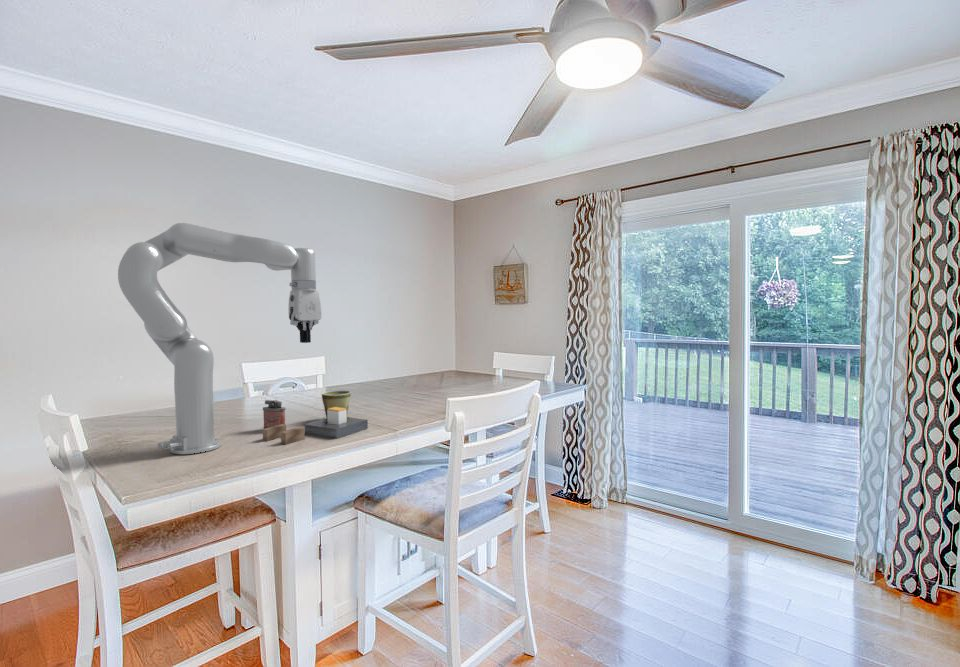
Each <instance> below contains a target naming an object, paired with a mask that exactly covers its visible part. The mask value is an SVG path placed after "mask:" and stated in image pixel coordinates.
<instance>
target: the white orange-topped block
mask: <svg viewBox="0 0 960 667" xmlns="http://www.w3.org/2000/svg"><path fill="white" fill-rule="evenodd" d="M347 417H348V415H347V416H346V408H340V407H333V408H329V409H327V421H328V424H335V425H339V424H342V423H346V422H347Z"/></svg>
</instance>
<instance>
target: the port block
mask: <svg viewBox="0 0 960 667" xmlns="http://www.w3.org/2000/svg"><path fill="white" fill-rule="evenodd" d="M368 421H369V420H368V419H363V418H357V417H349V416H347V422H346V423H342V424H339V425H335V424H328V421H327V418H324V419H323V418H322V419H320V420H319V419H318V420H315V421H312V422H309V423H308V422H307V423H304V427H303V428H304V431H305V434H306V435H310V436H317V437H324V438H330V439H335V438H336V440H337V439H340V437H341V438H343V436H344V437H346V436H350V435H353V434H355V433H359V432H361V431H364V430H368V428H369V426H368Z"/></svg>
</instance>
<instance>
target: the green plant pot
mask: <svg viewBox="0 0 960 667" xmlns="http://www.w3.org/2000/svg"><path fill="white" fill-rule="evenodd" d="M351 393H352V392H351V391H350V390H344V389H343V390H340V389H339V390H329V391H325V392H322V393H321V398H322V403H323V408H324V412H325V417H326V418H327V409H329V408H333V407H340V408H346V416H347V417H348V414H349V407H350V400H351V395H352V394H351ZM326 418H325V419H326Z"/></svg>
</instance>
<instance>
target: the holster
mask: <svg viewBox="0 0 960 667" xmlns="http://www.w3.org/2000/svg"><path fill="white" fill-rule="evenodd" d="M276 438H277V439H280V441H281V442H280V444H281V443H282V444H281V445H285V444H286V445H289V443H290V444H292V443H295V442H299V441H302V440H305V427H303V426H298V427H294V428H291V429H287V424H285V425H284V424H281V425H277V426H273V427H269V428H265V429H262V441H263V440H264V441H265V442H270V441H272V440H277V439H276ZM269 440H270V441H269Z"/></svg>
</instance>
